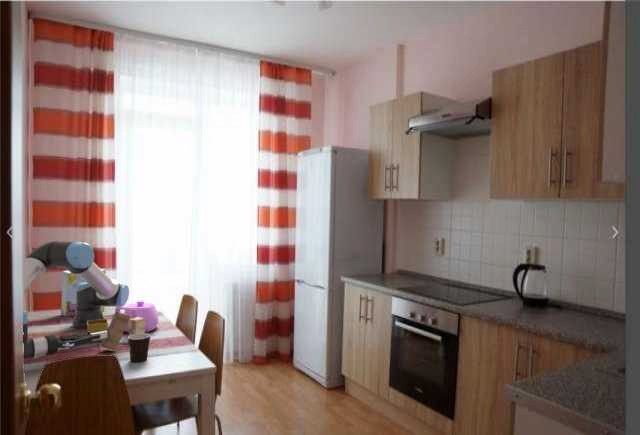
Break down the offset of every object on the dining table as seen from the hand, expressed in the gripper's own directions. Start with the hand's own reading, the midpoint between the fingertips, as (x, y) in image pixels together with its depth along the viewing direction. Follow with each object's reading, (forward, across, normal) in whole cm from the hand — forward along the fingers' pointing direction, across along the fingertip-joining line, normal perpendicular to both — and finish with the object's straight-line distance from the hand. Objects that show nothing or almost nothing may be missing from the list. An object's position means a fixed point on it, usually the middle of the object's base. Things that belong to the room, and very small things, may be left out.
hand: (106, 334), depth 186 cm
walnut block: (+1, 0, -7) cm, 7 cm away
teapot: (+25, -23, -8) cm, 35 cm away
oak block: (+17, -9, -8) cm, 21 cm away
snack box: (+17, -79, -8) cm, 81 cm away
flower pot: (+3, -20, -8) cm, 21 cm away
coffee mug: (+5, +20, -8) cm, 22 cm away
